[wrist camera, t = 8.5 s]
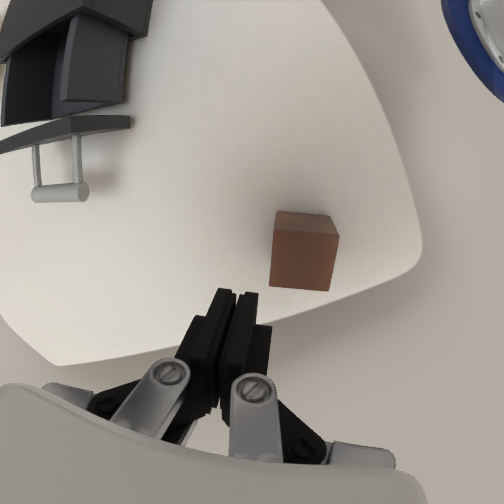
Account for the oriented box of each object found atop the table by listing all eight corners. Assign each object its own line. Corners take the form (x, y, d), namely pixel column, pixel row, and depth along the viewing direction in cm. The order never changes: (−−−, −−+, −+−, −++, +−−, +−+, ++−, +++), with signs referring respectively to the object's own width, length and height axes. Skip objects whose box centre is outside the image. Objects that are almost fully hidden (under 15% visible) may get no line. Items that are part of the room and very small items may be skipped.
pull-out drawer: (132, 189, 22) (76, 215, 15) (53, 191, 24) (2, 213, 16) (142, 0, 14) (96, -29, 7) (59, 34, 16) (10, 25, 9)
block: (330, 216, 22) (339, 235, 18) (322, 264, 24) (328, 291, 20) (276, 210, 23) (273, 228, 18) (272, 260, 25) (268, 286, 20)
